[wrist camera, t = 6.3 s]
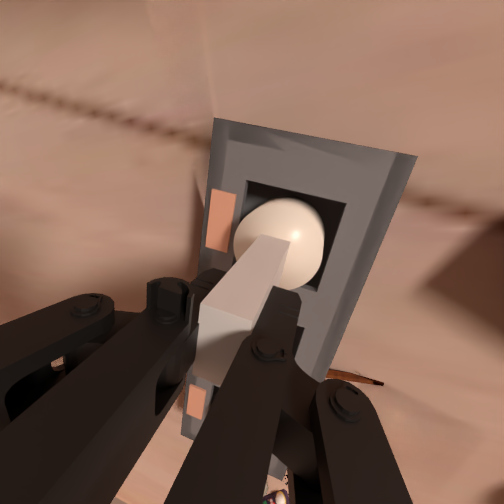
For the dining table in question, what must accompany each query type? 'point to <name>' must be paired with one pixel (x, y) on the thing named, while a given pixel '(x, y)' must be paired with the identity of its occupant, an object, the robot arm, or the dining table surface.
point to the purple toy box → (281, 498)
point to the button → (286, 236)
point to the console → (334, 219)
